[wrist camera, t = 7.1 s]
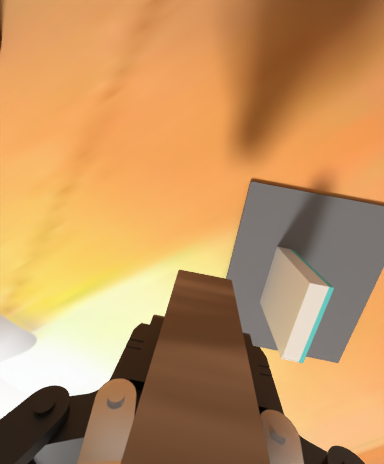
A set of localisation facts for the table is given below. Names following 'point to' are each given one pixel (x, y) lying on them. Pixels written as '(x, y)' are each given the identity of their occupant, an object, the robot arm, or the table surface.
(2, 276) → the table surface
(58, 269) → the table surface
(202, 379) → the walnut stick
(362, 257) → the mat
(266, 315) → the tile
